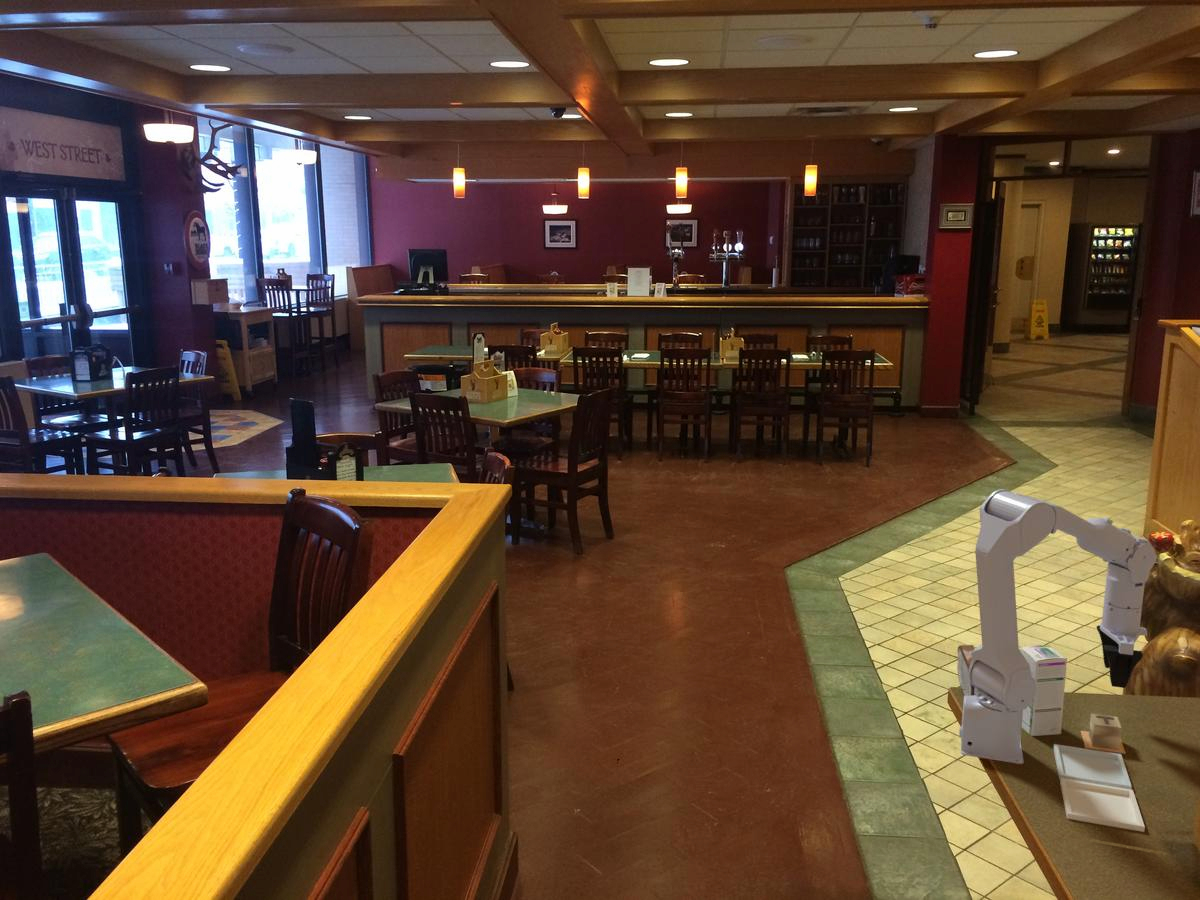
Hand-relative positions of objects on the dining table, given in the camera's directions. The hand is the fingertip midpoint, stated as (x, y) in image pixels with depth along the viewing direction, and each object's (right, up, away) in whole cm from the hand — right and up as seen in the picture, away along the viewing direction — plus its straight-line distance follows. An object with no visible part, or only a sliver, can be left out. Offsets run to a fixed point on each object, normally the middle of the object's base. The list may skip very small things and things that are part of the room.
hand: (1114, 676), depth 163 cm
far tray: (-10, -12, -12) cm, 20 cm away
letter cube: (-4, -10, -4) cm, 12 cm away
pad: (-4, -10, -4) cm, 12 cm away
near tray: (-14, -14, -22) cm, 30 cm away
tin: (-20, -7, +14) cm, 25 cm away
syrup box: (-13, -10, +2) cm, 16 cm away
